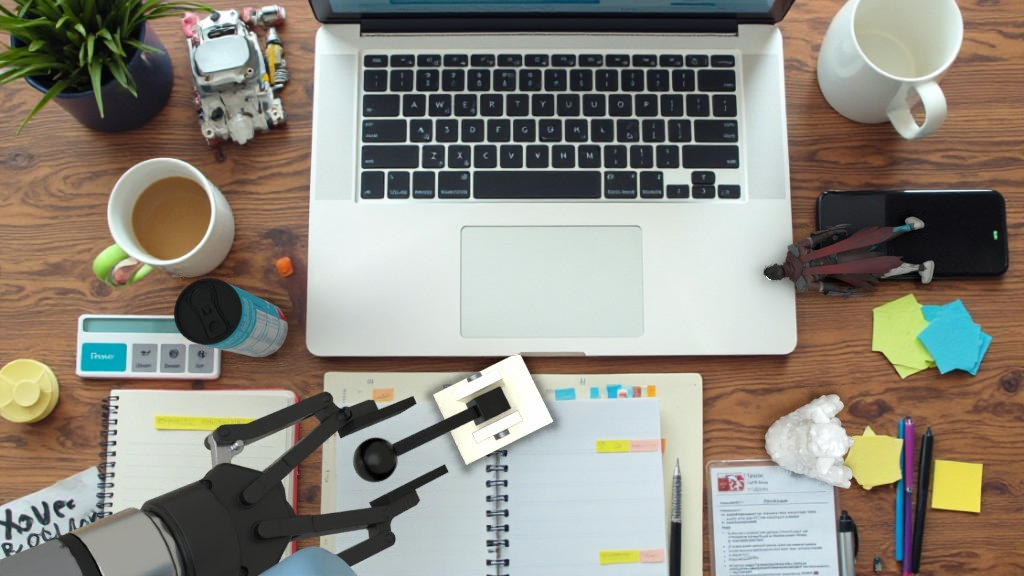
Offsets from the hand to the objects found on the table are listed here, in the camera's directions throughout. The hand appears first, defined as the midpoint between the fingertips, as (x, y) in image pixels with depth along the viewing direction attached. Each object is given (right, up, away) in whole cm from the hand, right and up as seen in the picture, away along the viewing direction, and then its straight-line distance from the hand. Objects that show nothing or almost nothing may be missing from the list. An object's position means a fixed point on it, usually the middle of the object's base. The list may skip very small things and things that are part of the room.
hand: (421, 438), depth 66 cm
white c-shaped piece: (+6, 0, +14) cm, 15 cm away
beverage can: (-19, +8, +16) cm, 26 cm away
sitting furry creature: (+38, -3, +13) cm, 40 cm away
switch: (0, 0, 0) cm, 0 cm away
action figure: (+43, +15, +17) cm, 48 cm away
